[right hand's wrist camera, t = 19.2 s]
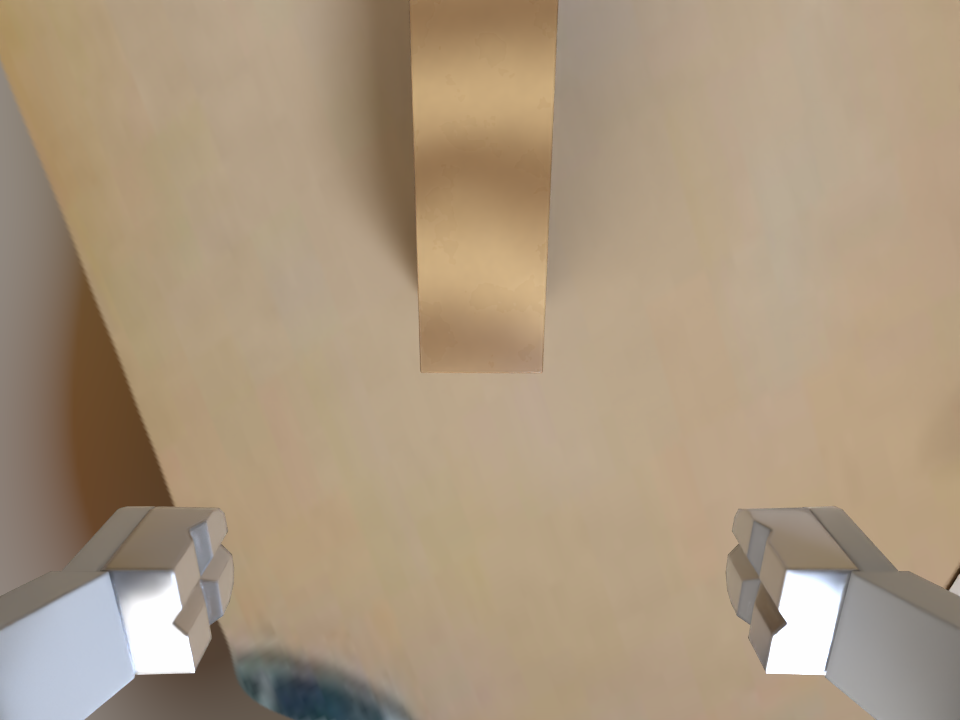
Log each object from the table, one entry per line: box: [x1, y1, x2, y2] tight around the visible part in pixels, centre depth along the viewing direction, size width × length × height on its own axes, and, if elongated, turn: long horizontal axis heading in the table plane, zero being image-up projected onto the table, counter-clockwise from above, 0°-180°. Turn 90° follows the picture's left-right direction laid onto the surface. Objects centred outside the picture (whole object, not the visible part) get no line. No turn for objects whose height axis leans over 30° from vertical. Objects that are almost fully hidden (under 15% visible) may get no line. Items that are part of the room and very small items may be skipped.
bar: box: [409, 0, 558, 373], centre depth 25 cm, size 23×5×8 cm, turn 0°
